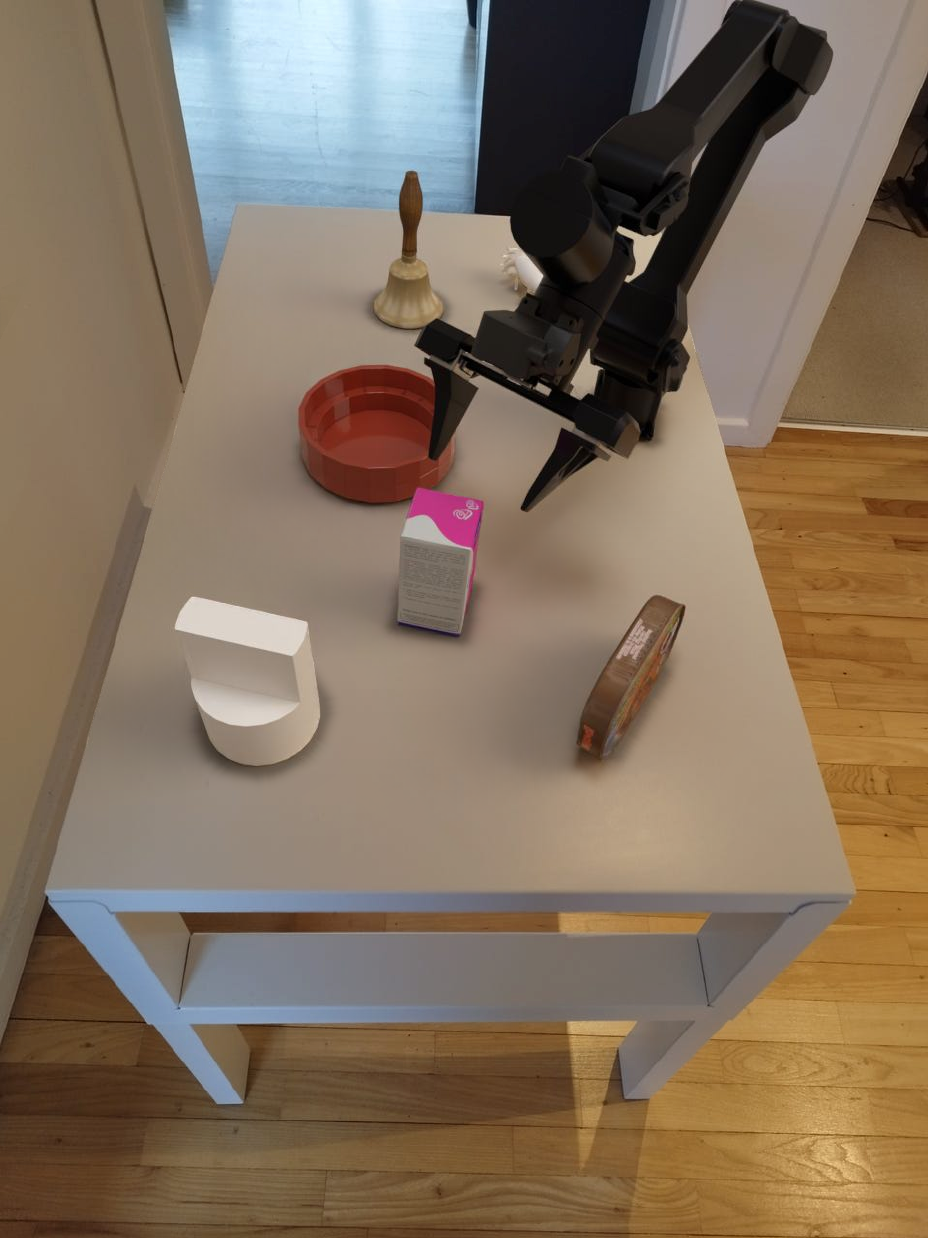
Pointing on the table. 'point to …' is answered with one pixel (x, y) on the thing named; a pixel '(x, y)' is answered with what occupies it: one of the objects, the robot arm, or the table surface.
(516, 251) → the white animal figurine
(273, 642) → the base with upright slab
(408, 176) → the hand bell
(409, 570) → the supplement box
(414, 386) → the bowl
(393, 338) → the table surface
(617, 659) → the tin
